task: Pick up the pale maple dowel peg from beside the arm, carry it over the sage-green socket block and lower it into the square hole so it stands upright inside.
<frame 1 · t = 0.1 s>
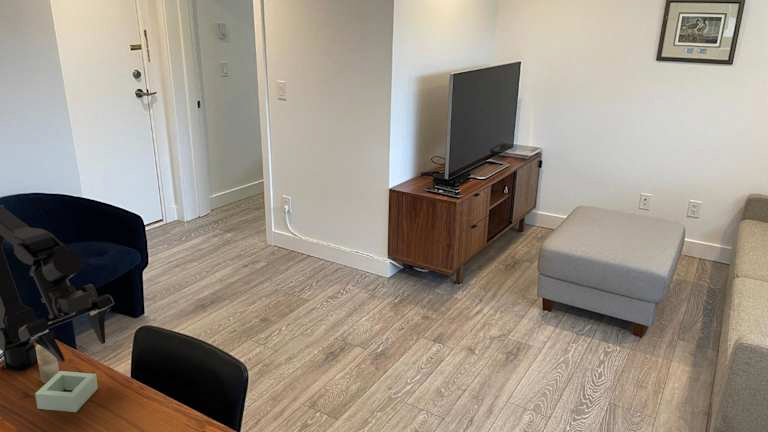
hand: (84, 352, 127), 15 cm above the table, tool tilted 30°, fingers open, 9 cm apart
peg: (50, 377, 142), on the table
socket: (68, 398, 135), on the table
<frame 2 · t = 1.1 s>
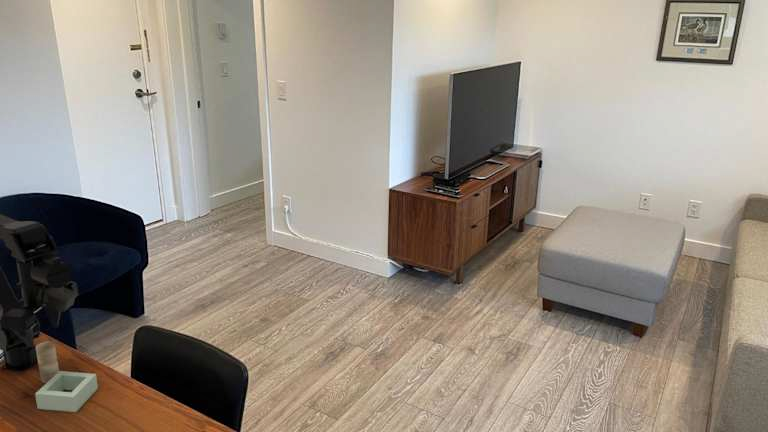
hand: (43, 336, 138), 11 cm above the table, tool pointing down, fingers open, 9 cm apart
nothing on the table moved.
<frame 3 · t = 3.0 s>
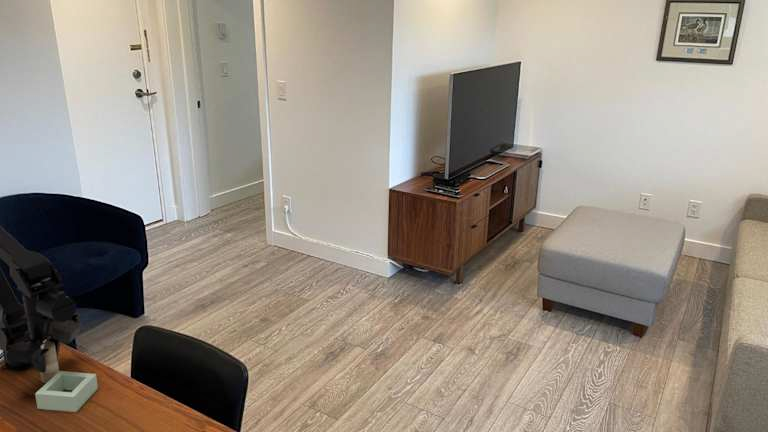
hand: (48, 367, 141), 3 cm above the table, tool pointing down, fingers closed on peg, 4 cm apart
peg: (50, 377, 142), on the table, touching gripper
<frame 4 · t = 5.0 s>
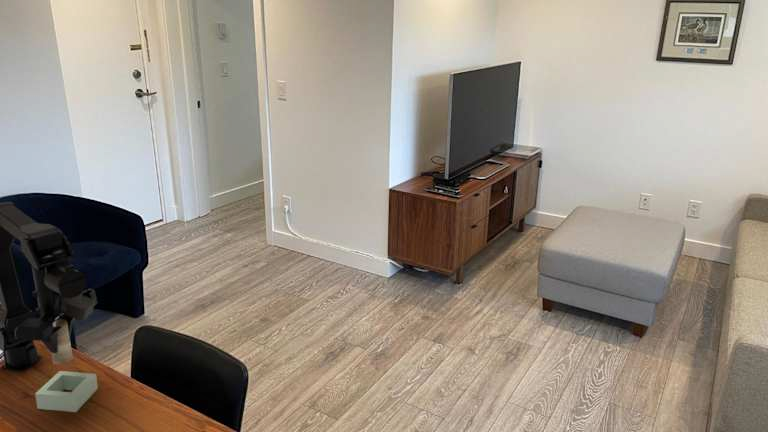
hand: (60, 347, 131), 13 cm above the table, tool pointing down, fingers closed on peg, 4 cm apart
peg: (62, 359, 132), point 10 cm above the table, touching gripper
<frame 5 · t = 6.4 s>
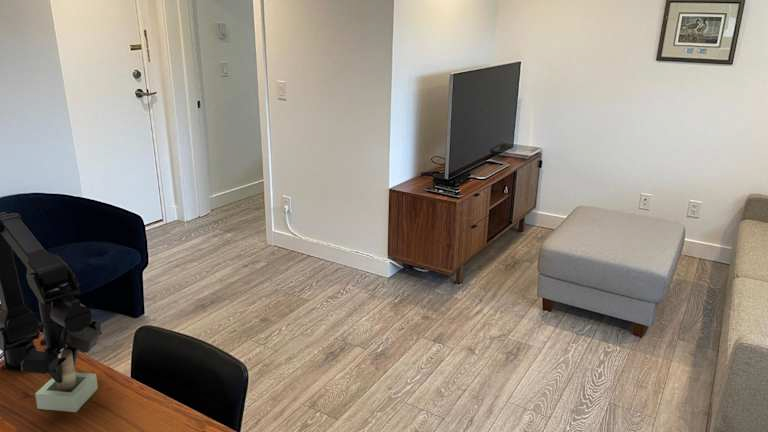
hand: (65, 377, 133), 6 cm above the table, tool pointing down, fingers closed on peg, 4 cm apart
peg: (67, 388, 134), point 3 cm above the table, touching gripper
when the fingers open (5 cm above the table, at t = 7.1 s): peg drops 3 cm, resting in socket.
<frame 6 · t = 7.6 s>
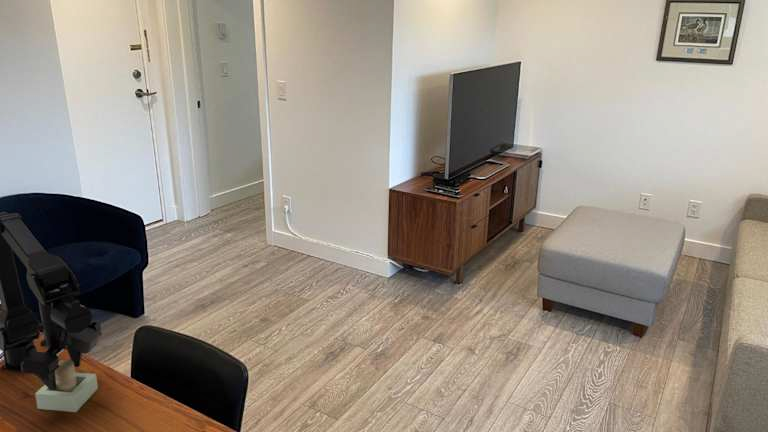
hand: (65, 377, 133), 5 cm above the table, tool pointing down, fingers open, 9 cm apart
peg: (68, 398, 135), resting in socket
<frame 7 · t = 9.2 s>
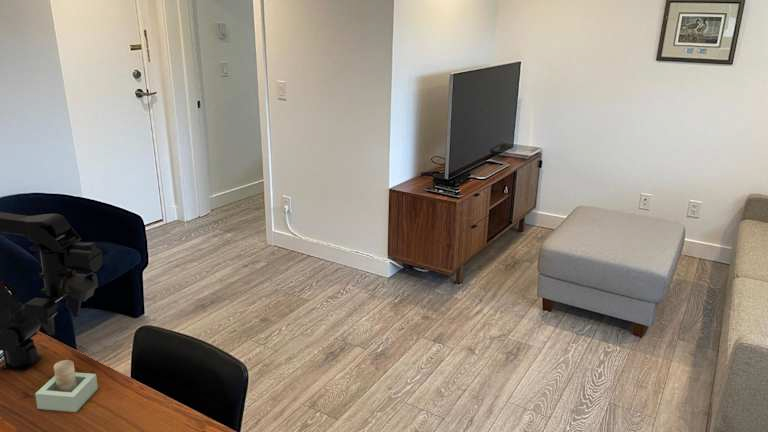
hand: (64, 325, 143), 12 cm above the table, tool pointing down, fingers open, 9 cm apart
nothing on the table moved.
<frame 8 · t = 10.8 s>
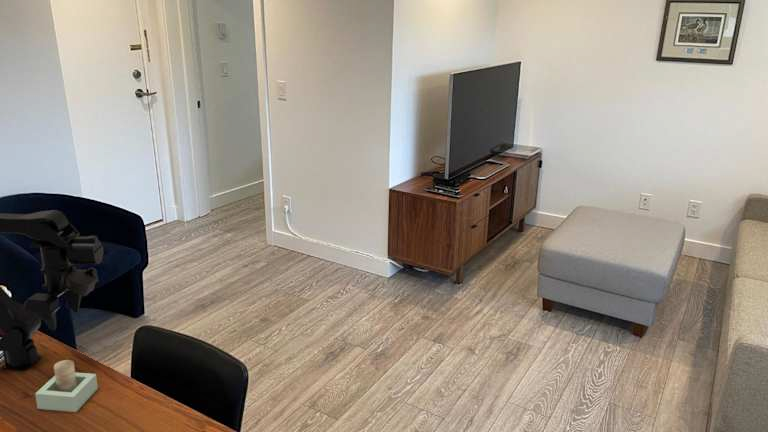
hand: (65, 320, 145), 12 cm above the table, tool pointing down, fingers open, 9 cm apart
nothing on the table moved.
at the end: peg 0.1 cm off-centre on the socket, point 0.0 cm above the socket's base; peg tilted 0°; the gripper is holding nothing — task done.
